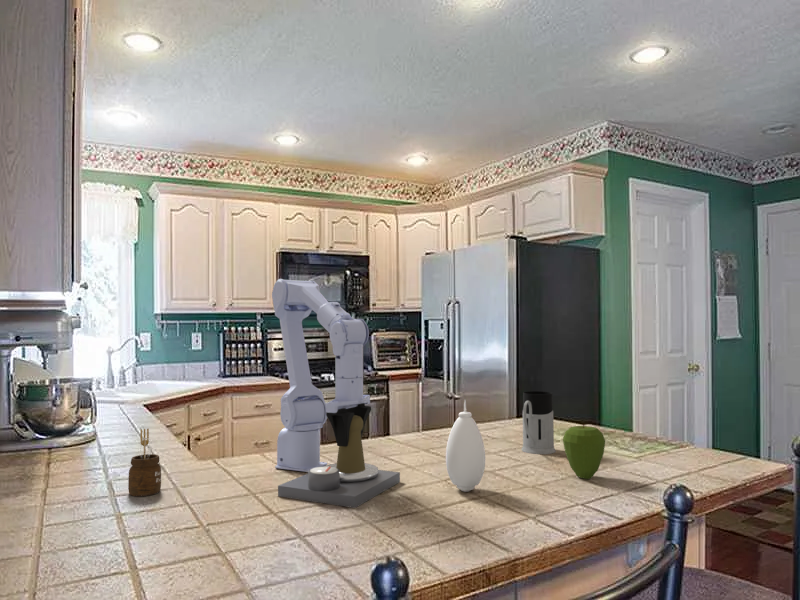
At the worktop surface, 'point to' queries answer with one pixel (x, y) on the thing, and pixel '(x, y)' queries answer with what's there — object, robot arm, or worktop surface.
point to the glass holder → (538, 423)
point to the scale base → (336, 487)
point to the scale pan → (358, 474)
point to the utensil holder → (144, 472)
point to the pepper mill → (352, 450)
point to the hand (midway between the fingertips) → (349, 443)
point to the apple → (584, 450)
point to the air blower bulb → (465, 453)
